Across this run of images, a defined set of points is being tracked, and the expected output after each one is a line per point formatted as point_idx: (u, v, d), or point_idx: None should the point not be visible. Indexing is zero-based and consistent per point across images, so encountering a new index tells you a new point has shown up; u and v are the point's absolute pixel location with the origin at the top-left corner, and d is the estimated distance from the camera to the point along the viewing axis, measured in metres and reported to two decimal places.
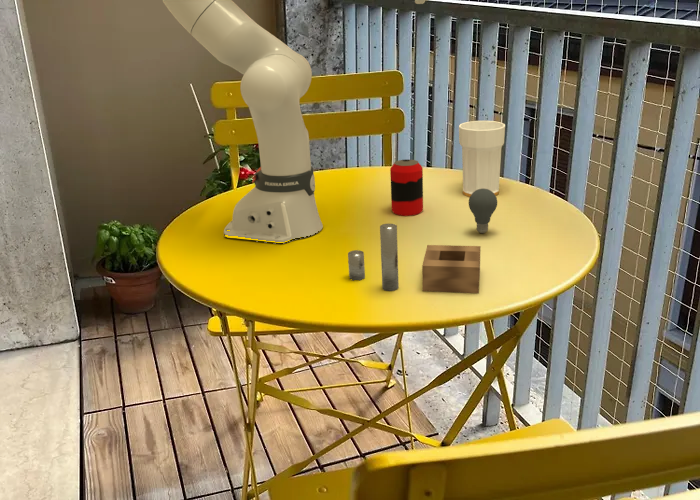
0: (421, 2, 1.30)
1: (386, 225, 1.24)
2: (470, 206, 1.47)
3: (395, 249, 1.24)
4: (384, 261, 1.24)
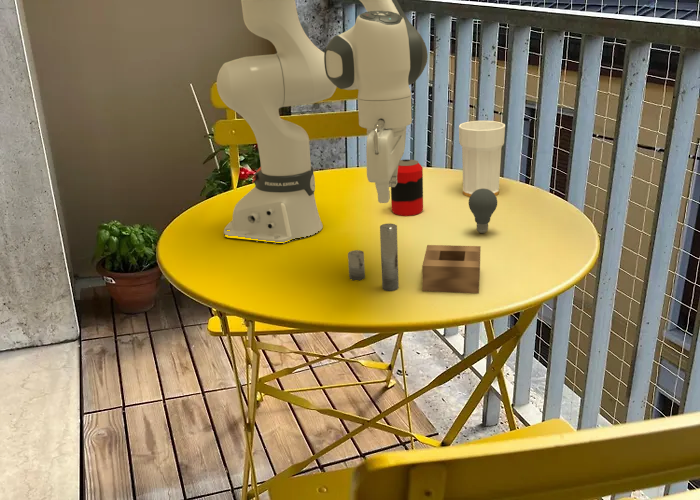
0: None
1: (386, 225, 1.24)
2: (470, 206, 1.47)
3: (395, 249, 1.24)
4: (384, 261, 1.24)
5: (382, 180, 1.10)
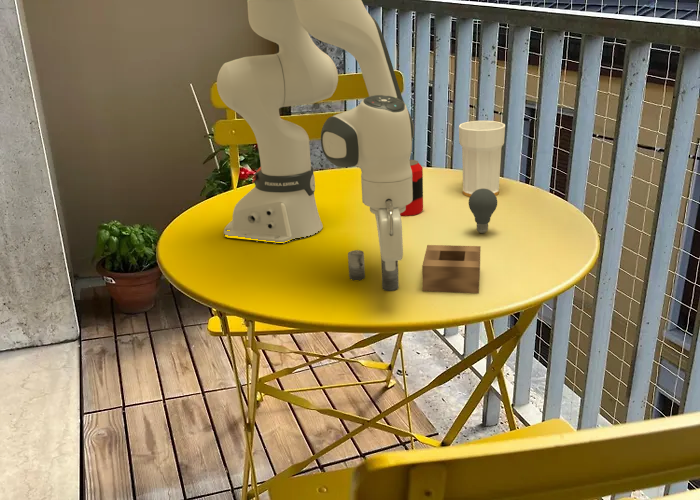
0: None
1: None
2: (470, 206, 1.47)
3: None
4: (384, 261, 1.24)
5: (396, 259, 1.15)
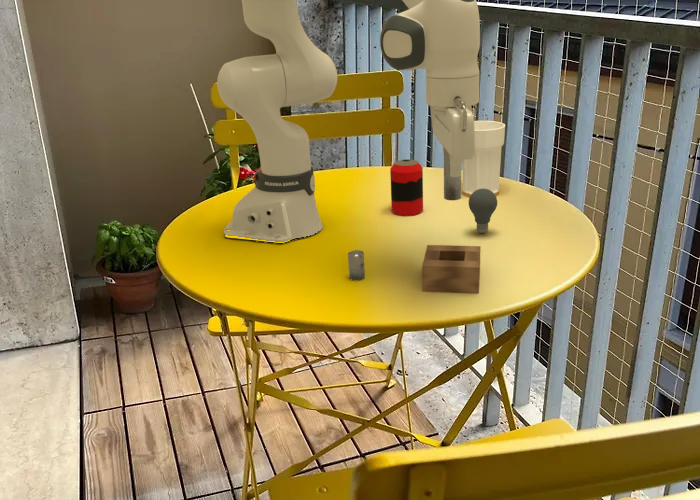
0: None
1: None
2: (470, 206, 1.47)
3: None
4: (448, 168, 1.20)
5: (468, 157, 1.10)
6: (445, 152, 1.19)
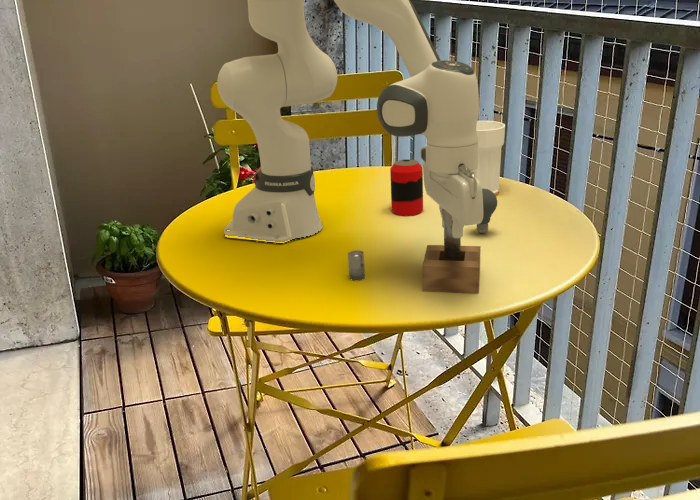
0: None
1: None
2: None
3: None
4: (449, 229, 1.24)
5: (477, 222, 1.15)
6: (446, 214, 1.23)
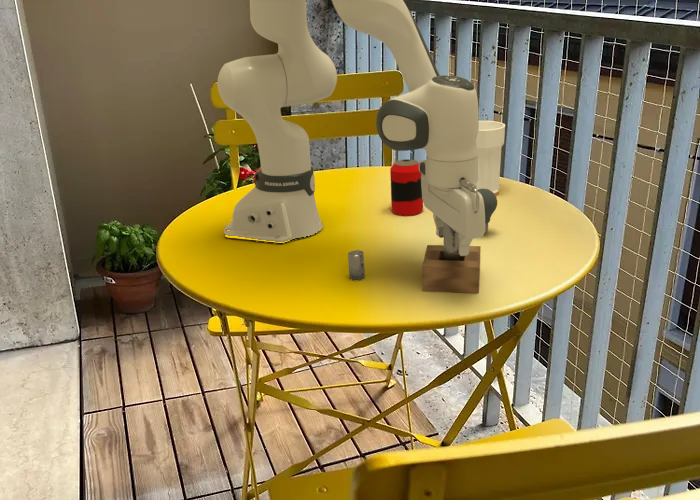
0: None
1: None
2: None
3: None
4: (449, 255, 1.26)
5: (479, 236, 1.16)
6: (446, 240, 1.25)
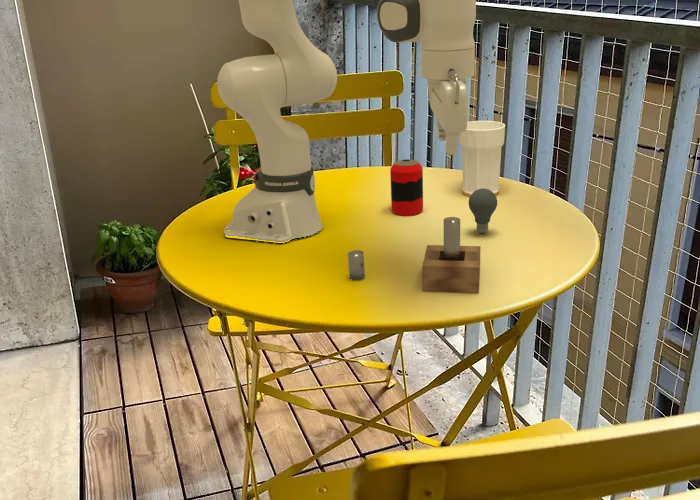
0: None
1: (449, 219, 1.25)
2: (470, 206, 1.47)
3: (459, 241, 1.26)
4: (449, 255, 1.26)
5: (460, 130, 1.10)
6: (446, 240, 1.25)
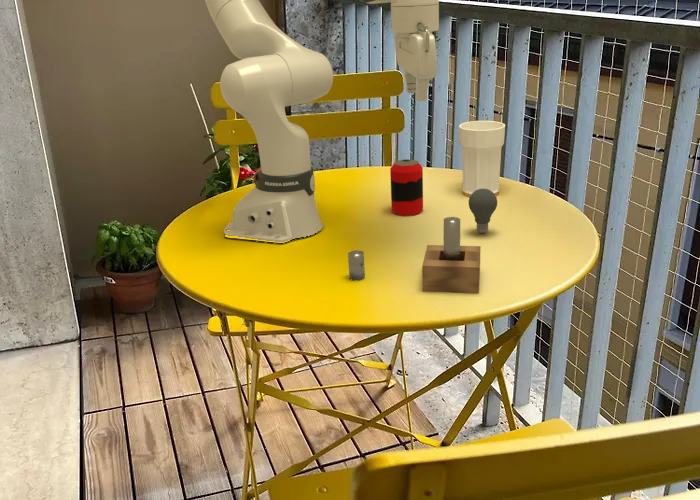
0: None
1: (449, 219, 1.25)
2: (470, 206, 1.47)
3: (459, 241, 1.26)
4: (449, 255, 1.26)
5: (431, 75, 1.24)
6: (446, 240, 1.25)
